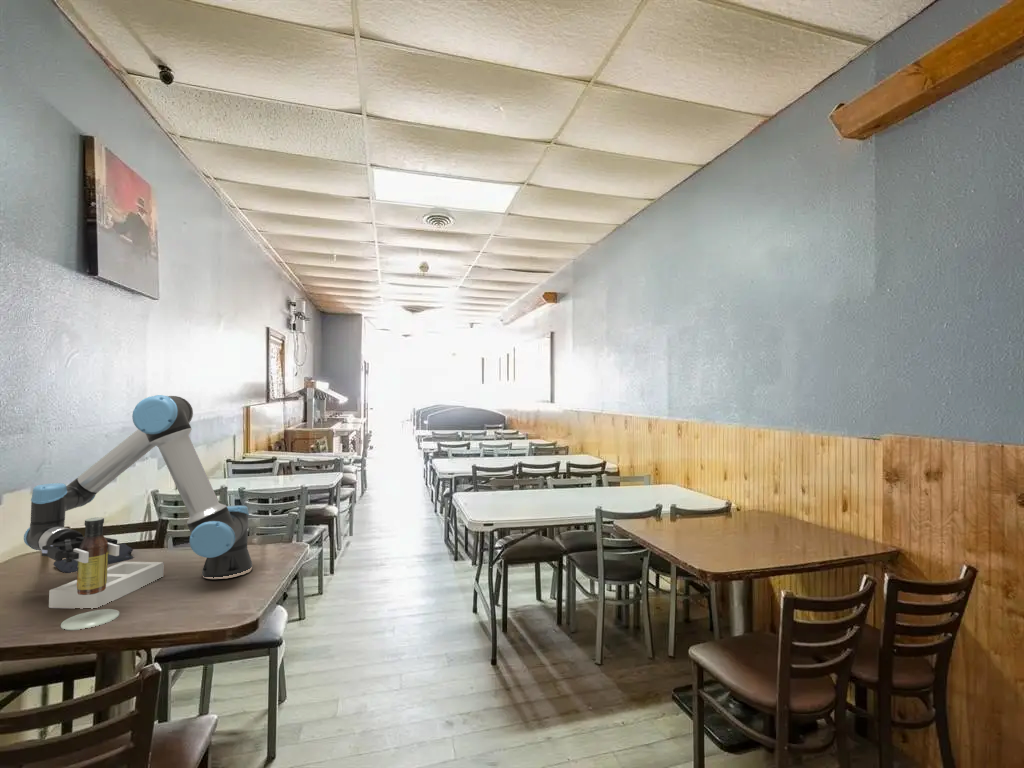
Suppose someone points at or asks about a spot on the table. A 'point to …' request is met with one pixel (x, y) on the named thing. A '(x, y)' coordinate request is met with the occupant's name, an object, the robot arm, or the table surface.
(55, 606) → the condiment caddy
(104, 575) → the sauce bottle
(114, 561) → the dark slate chunk
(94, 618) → the coaster
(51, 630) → the table surface
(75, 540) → the robot arm
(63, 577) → the table surface
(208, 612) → the table surface
